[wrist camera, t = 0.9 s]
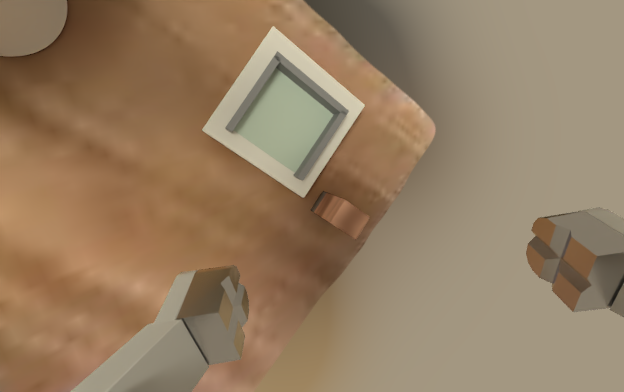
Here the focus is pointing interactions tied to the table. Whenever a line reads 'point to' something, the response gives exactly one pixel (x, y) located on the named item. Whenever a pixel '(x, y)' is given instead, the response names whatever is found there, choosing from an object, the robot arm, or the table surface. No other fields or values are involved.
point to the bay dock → (284, 114)
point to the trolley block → (340, 214)
